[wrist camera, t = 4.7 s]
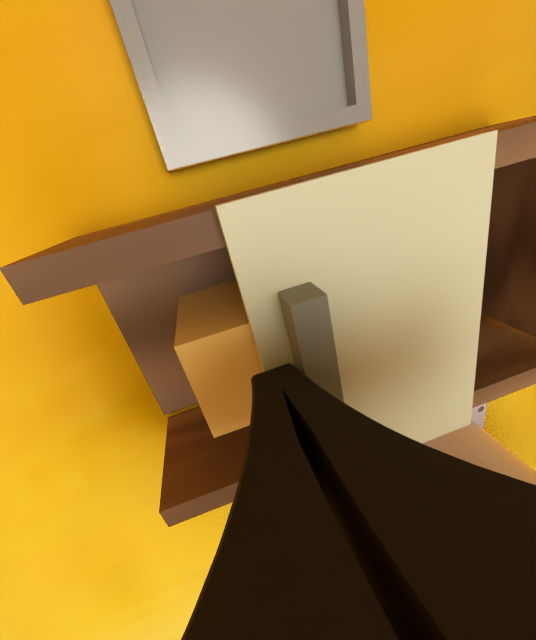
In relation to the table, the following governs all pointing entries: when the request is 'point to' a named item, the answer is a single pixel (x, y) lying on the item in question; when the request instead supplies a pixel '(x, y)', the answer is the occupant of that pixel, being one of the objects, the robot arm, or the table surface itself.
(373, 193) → the cream cabinet door
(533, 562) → the robot arm
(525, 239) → the brown cabinet
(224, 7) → the slate tray
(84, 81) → the table surface
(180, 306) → the mustard block
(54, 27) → the table surface
